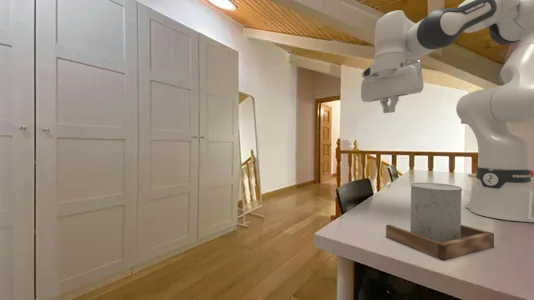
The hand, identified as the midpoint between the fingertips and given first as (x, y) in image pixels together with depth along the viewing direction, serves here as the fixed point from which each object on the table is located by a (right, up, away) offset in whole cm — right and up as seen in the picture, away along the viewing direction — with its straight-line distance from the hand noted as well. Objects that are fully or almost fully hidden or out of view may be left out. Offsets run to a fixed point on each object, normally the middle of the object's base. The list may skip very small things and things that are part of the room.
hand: (388, 112), depth 80 cm
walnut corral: (0, -32, -22) cm, 39 cm away
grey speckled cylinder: (0, -32, -22) cm, 39 cm away
